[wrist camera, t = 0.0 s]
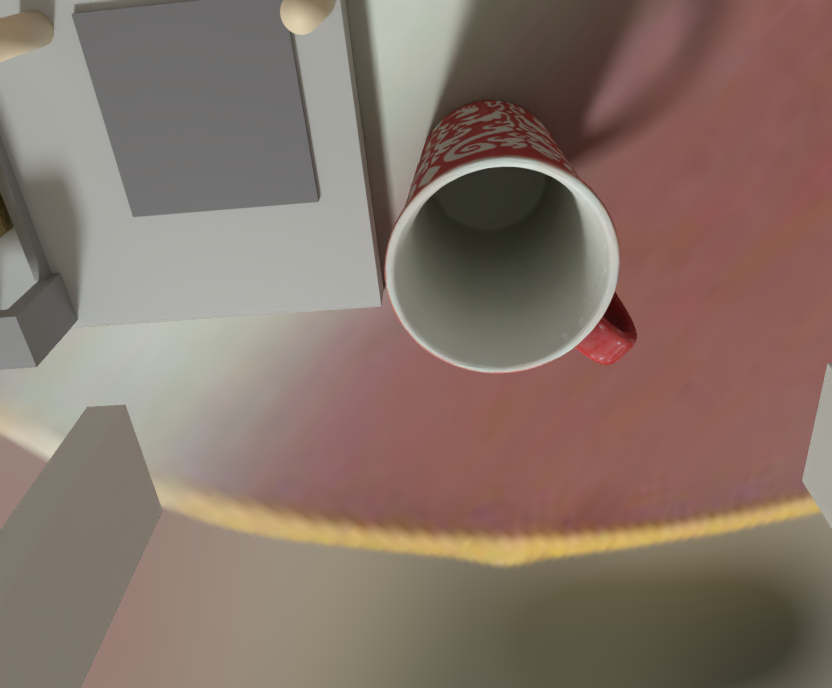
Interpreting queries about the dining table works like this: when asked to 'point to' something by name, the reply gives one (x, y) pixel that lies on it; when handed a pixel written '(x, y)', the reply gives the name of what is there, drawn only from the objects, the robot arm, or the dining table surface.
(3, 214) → the tan rectangular block
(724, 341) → the dining table surface
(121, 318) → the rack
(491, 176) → the mug
